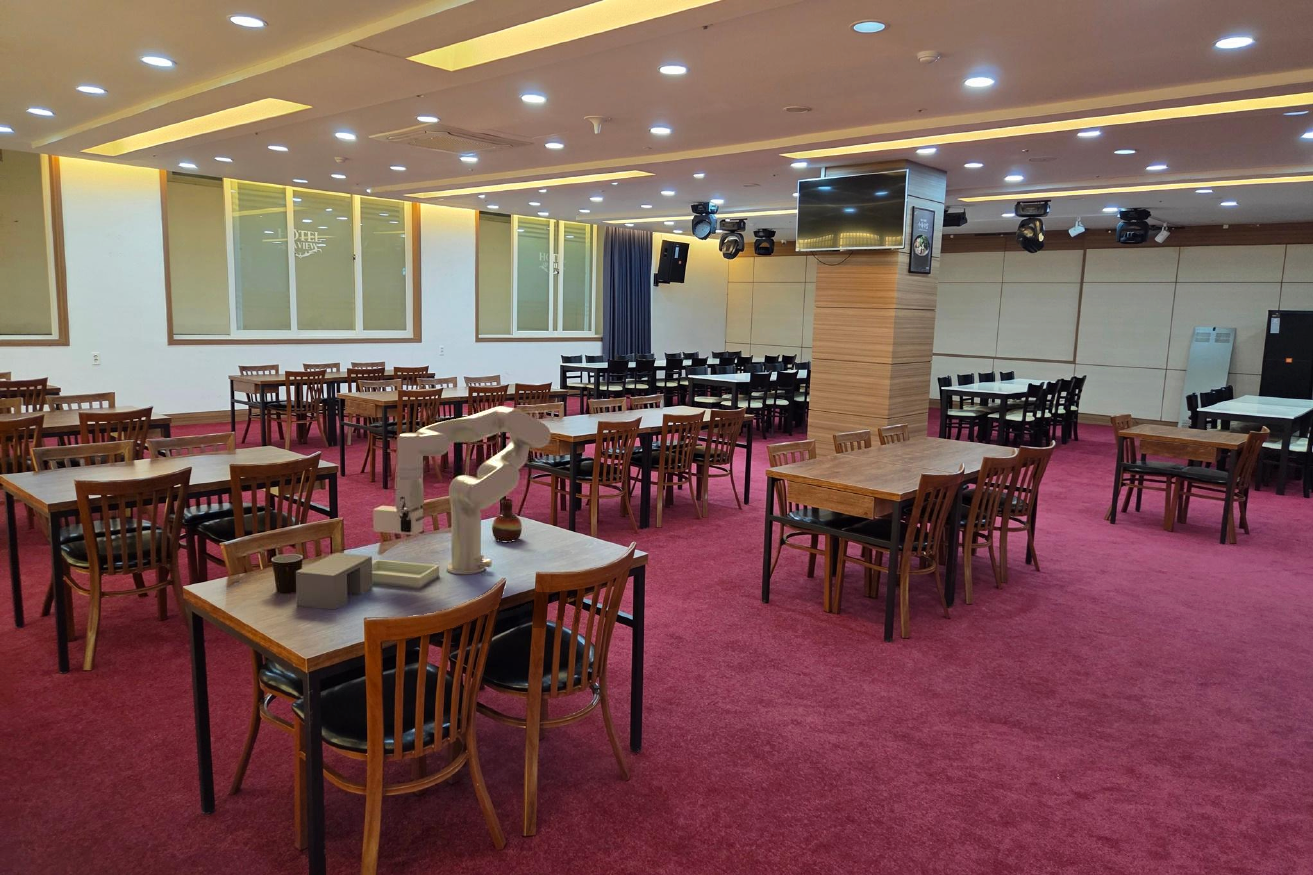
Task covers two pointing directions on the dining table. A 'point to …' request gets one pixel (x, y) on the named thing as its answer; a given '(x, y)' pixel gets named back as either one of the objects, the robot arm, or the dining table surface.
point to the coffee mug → (286, 572)
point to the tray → (403, 573)
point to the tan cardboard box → (396, 520)
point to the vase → (506, 523)
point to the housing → (333, 580)
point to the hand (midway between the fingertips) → (410, 528)
